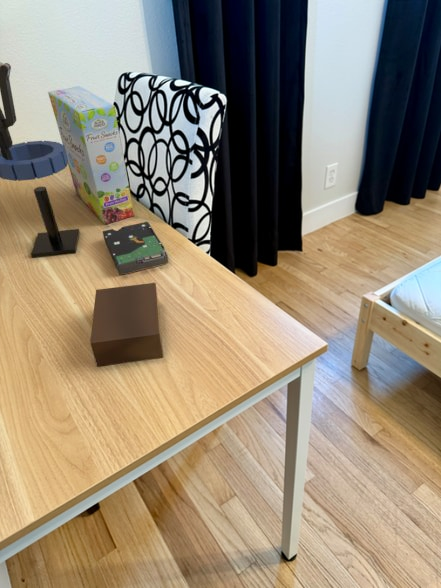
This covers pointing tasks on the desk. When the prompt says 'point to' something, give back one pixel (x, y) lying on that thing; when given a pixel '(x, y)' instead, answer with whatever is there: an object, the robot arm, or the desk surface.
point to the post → (52, 231)
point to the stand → (126, 325)
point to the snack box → (93, 152)
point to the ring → (33, 160)
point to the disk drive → (135, 248)
